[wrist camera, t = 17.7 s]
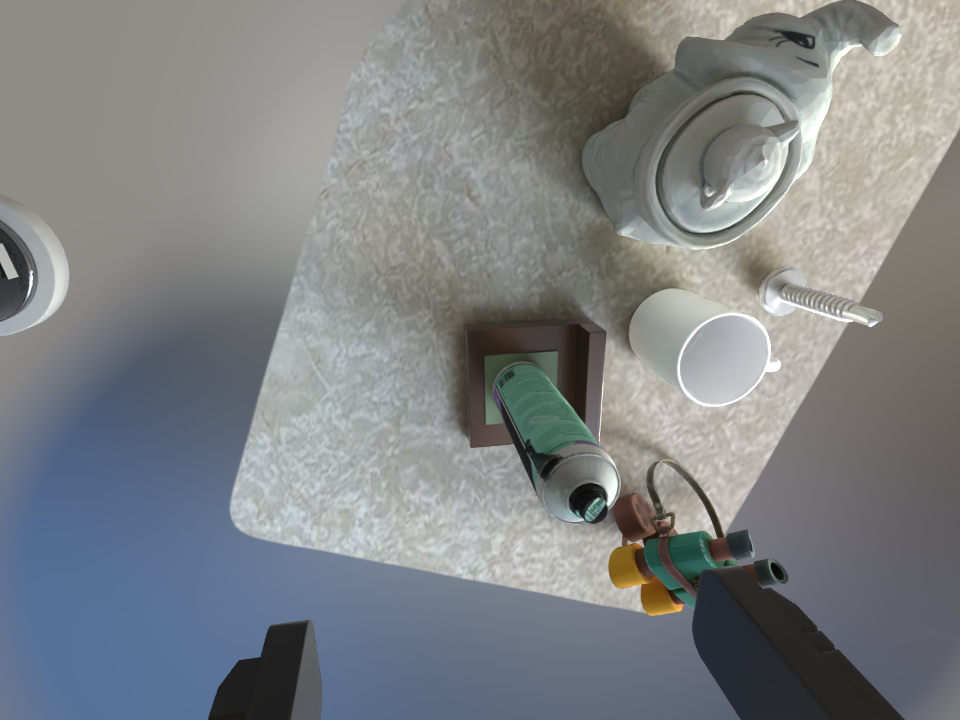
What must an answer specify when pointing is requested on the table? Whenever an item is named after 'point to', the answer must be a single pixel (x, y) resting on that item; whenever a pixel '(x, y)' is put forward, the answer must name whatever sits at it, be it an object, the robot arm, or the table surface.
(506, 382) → the spray can
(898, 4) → the table surface
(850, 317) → the screw
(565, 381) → the brown wooden square frame
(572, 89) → the table surface
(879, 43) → the teapot
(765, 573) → the binoculars
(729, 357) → the cup
